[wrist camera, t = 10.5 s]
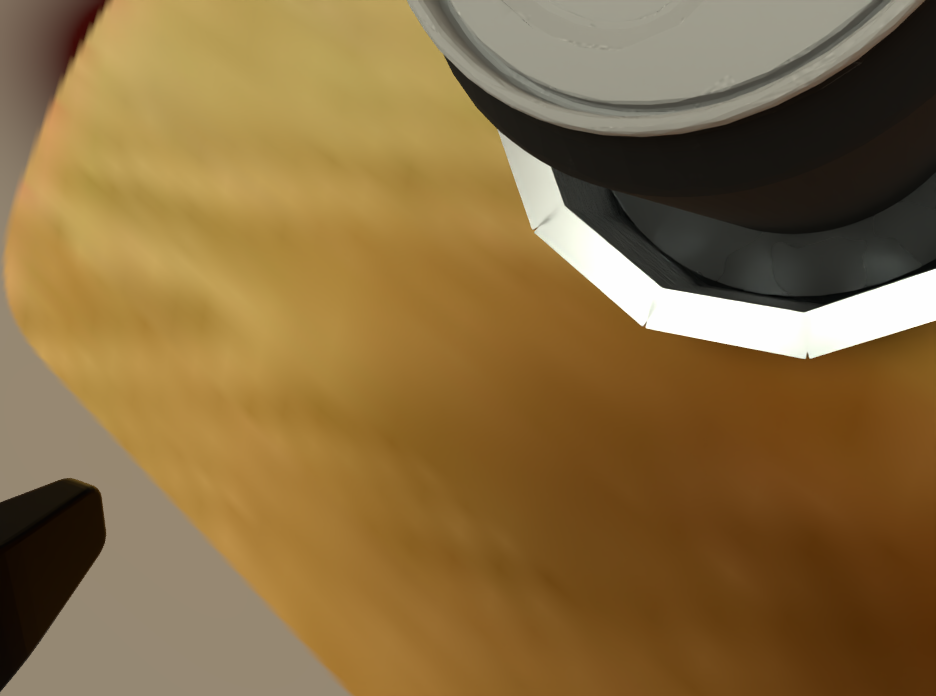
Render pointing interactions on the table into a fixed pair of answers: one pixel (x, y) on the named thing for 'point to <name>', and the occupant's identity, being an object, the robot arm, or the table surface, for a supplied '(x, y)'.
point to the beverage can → (710, 98)
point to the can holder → (740, 265)
